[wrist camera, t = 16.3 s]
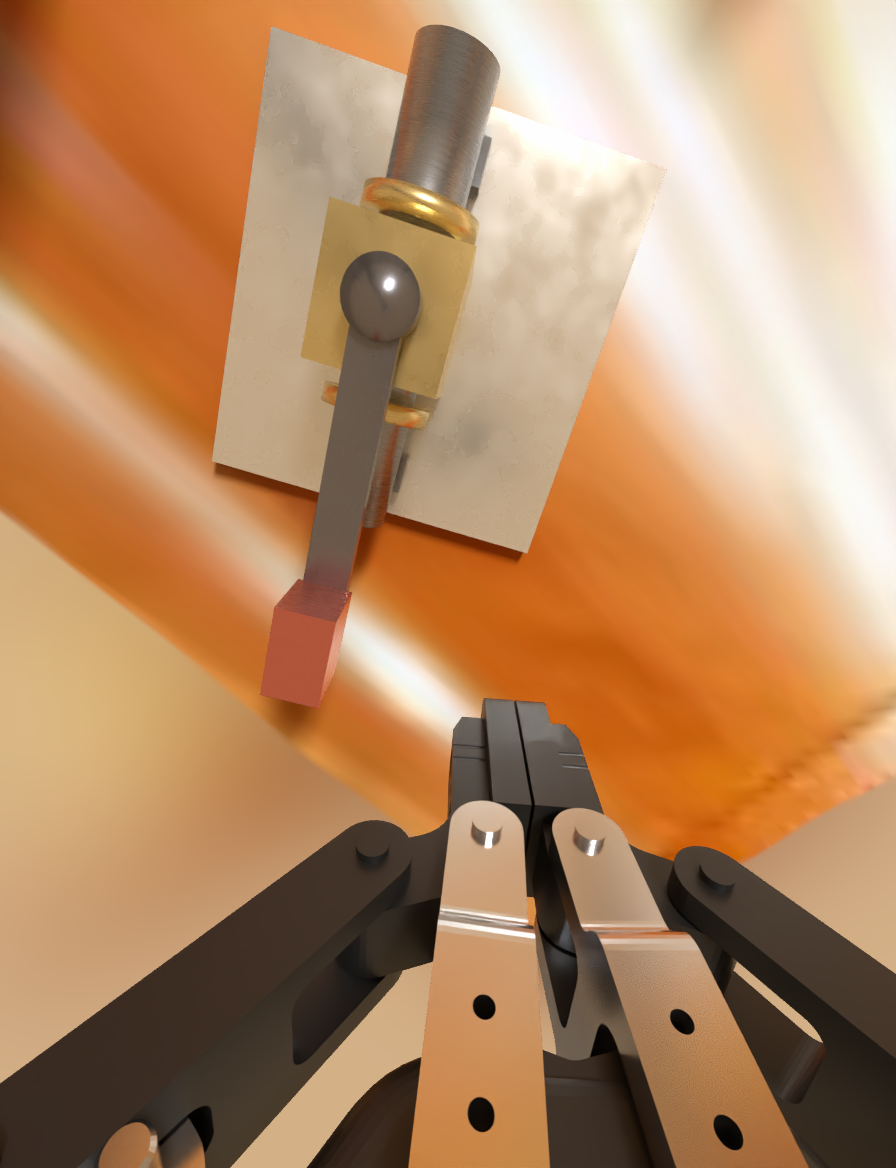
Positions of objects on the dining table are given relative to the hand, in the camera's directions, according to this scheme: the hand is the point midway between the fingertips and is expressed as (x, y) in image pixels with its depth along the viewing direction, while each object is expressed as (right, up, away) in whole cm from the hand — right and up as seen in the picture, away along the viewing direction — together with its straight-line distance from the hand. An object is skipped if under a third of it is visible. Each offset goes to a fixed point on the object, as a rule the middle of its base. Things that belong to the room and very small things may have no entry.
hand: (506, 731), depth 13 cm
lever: (-7, +9, +15) cm, 19 cm away
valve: (-4, +20, +21) cm, 30 cm away
